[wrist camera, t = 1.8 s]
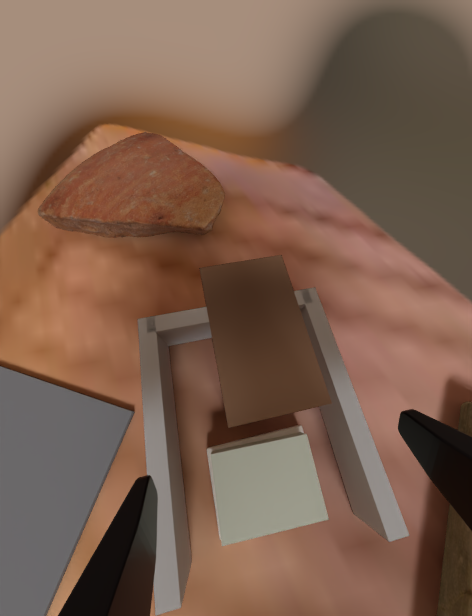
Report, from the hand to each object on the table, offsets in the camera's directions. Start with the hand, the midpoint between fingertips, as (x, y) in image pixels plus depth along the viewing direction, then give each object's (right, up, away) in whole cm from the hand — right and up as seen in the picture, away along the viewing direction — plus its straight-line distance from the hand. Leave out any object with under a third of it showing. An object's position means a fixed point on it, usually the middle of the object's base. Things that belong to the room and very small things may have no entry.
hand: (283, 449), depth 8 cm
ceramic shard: (-11, +15, +19) cm, 26 cm away
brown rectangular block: (-1, -1, +12) cm, 12 cm away
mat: (-17, -7, +8) cm, 20 cm away
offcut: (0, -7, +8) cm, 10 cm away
